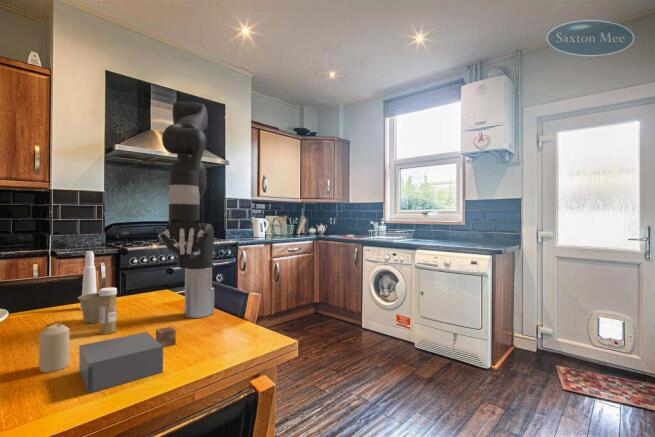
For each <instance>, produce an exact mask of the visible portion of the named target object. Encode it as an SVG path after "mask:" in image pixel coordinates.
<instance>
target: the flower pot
mask: <svg viewBox="0 0 655 437" xmlns="http://www.w3.org/2000/svg"><path fill="white" fill-rule="evenodd" d="M77 299H78V300H79V303H80V305H81V306H82V310H81V311H82V316H83V322H84V323H85V324H96V323H100V322H99V313H100V296H99V292H97V293H92V294H86V295H82V294H81V295H80V296H77Z"/></svg>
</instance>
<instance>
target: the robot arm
mask: <svg viewBox="0 0 655 437" xmlns="http://www.w3.org/2000/svg"><path fill="white" fill-rule="evenodd" d="M208 116H209V115H208V110H207V107H206V105H205V104H203V103H201V102H191V101H175V102H174V103H173V105H172V121H173V123H172V124H170V125H169V126H167V127H166V128H165V129H164V131H163V133H162V137H161V141H162V146H163V148H164V149H165V150H166V152H168V153H170V154H172V155H176V159H177V160H176V161H177V162H175V163H172V164H171V166H170V167H169V192H168V199H167V201H168V224H167V226H166V229H165V230H164V231H162V232H160V233H158V234H157V238H158V239H159V240H160V241H161V242H162V243H163V244H164V245H165V247H166V248H167V250H168V251H169V252H171V253H174V254H176V255H177V257H176V259H177V260H176V261H177V262H176V263H177V266H178V268H179V269H182V270H184V316H185V317H186V318H189V319H197V318H206V317H208V316H211V315H213V314H215V287H213V260H214V242H215V231H214V226H213V225H212V224H211V223H200V200H201V199H202V197H203V195H204V193H205V191H206V188H207V174H206V173H207V170H206V166H205V165H204V163H203V161H202V158H203V155H204V151H205V148H206V145H207V144H206V143H207V138H206V135H205V132H204V131H205V130H206V129H207V127H208V121H209V118H208ZM170 237H172V239H173V240H174V241H175V244H174V243H173V242H172V240H171V239H170ZM198 250H199V251H200V252H199V253H198V254H197V255H196V256H194V257H191V254H192V253H194V252H197V251H198Z"/></svg>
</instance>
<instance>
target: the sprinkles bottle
mask: <svg viewBox="0 0 655 437" xmlns="http://www.w3.org/2000/svg"><path fill="white" fill-rule="evenodd" d="M98 293H99V296H100V313H99V322H98V323H99V332H98V333H99V334H100V335H110V334H113V333H115V332H116V331H117V294H118V289H117V287H103V288H100V289H99V292H98Z"/></svg>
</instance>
